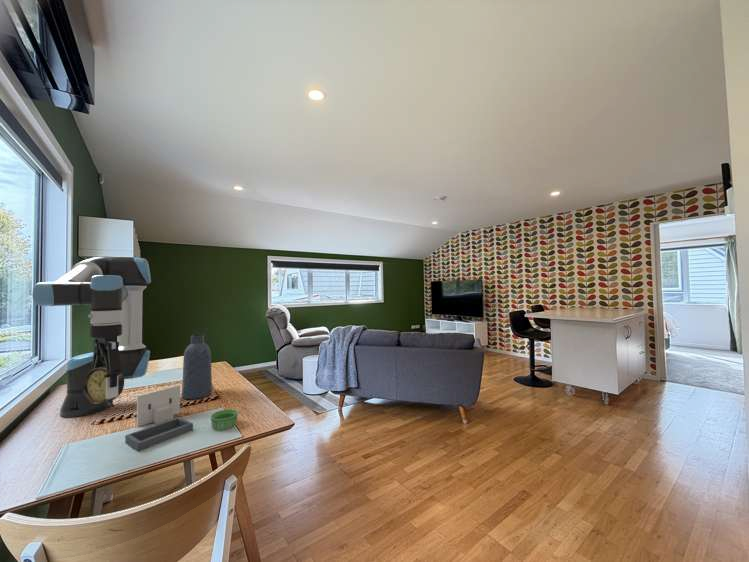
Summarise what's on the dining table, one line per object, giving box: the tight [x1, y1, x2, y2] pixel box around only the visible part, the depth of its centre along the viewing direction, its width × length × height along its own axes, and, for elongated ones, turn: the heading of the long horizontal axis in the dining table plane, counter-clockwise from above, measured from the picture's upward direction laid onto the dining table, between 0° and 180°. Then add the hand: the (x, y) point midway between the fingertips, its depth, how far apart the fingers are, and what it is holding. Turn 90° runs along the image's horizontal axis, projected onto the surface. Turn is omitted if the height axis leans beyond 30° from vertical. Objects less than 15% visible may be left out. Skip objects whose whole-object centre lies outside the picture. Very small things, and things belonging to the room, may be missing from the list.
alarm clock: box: [83, 355, 125, 408], centre depth 93 cm, size 11×5×16 cm, turn 80°
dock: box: [124, 416, 194, 453], centre depth 100 cm, size 10×16×2 cm, turn 148°
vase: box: [181, 334, 213, 400], centre depth 140 cm, size 12×12×28 cm
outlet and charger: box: [136, 384, 181, 427], centre depth 111 cm, size 12×14×11 cm
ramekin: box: [210, 408, 239, 432], centre depth 108 cm, size 9×9×4 cm
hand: (105, 394), depth 93 cm, fingers closed on alarm clock, 11 cm apart
